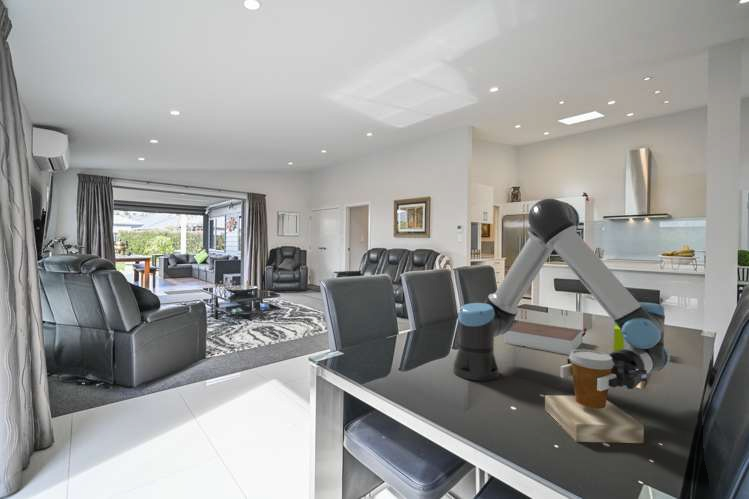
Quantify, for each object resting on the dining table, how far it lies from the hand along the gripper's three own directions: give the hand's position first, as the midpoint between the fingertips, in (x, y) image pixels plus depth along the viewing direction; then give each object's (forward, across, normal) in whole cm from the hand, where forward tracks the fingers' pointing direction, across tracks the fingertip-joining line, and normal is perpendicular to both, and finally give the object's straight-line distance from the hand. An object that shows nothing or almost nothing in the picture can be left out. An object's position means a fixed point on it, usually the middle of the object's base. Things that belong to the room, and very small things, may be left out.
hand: (579, 378), depth 83 cm
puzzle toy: (-82, +27, -13) cm, 87 cm away
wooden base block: (-5, 0, -12) cm, 13 cm away
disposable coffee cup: (-5, 0, -7) cm, 9 cm away
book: (-60, +52, -13) cm, 81 cm away
